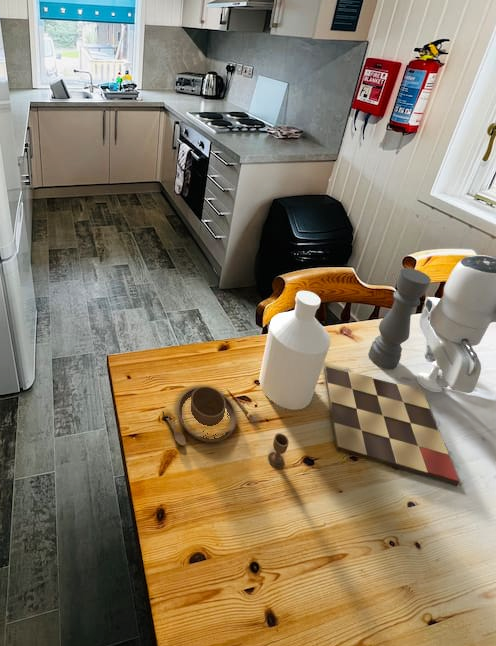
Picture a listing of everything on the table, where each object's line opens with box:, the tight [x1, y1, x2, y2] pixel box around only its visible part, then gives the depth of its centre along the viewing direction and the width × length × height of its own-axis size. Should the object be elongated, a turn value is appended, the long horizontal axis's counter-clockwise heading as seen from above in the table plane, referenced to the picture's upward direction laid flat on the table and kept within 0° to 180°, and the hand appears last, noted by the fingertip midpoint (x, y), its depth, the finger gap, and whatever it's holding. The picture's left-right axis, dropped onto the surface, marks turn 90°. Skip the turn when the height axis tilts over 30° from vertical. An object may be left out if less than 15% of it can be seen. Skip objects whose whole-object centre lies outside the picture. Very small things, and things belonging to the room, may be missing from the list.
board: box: [323, 366, 460, 487], centre depth 82 cm, size 20×20×1 cm
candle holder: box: [368, 267, 432, 371], centre depth 92 cm, size 6×6×25 cm
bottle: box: [258, 290, 331, 411], centre depth 84 cm, size 12×12×25 cm
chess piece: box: [416, 360, 443, 393], centre depth 89 cm, size 5×5×10 cm
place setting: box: [165, 386, 290, 469], centre depth 77 cm, size 18×20×6 cm
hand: (434, 371), depth 89 cm, fingers open, 6 cm apart
